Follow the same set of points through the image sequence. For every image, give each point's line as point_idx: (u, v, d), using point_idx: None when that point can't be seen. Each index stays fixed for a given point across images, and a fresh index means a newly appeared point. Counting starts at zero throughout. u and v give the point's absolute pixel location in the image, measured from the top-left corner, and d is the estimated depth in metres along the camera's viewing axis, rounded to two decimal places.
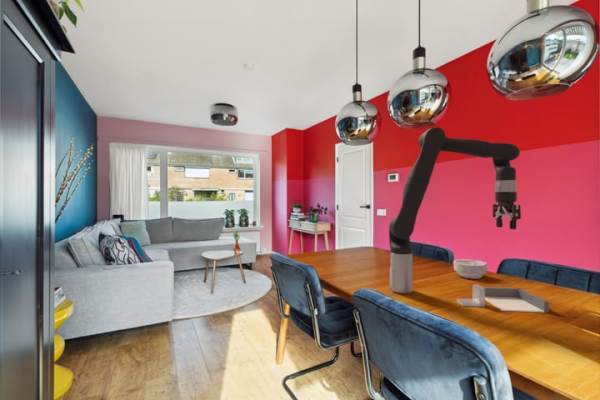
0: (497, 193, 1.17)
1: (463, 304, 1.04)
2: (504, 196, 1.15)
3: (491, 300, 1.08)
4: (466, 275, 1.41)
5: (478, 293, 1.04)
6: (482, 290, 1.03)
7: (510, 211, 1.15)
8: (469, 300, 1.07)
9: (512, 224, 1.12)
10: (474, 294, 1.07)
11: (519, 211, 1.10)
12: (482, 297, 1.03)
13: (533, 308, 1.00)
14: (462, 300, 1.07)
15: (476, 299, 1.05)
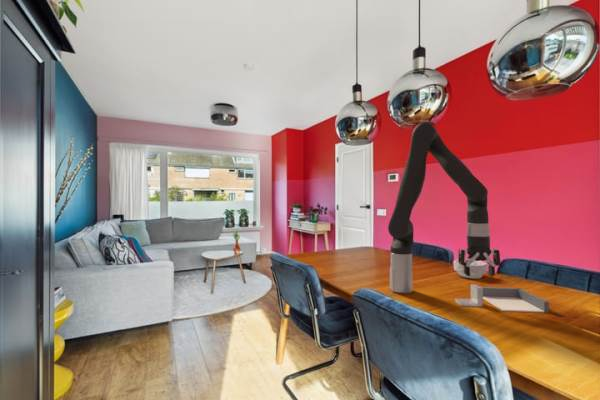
0: (484, 238, 1.02)
1: (461, 304, 1.04)
2: (489, 241, 1.03)
3: (491, 300, 1.08)
4: None
5: (476, 293, 1.04)
6: (480, 290, 1.03)
7: None
8: (468, 300, 1.07)
9: (493, 271, 1.04)
10: (472, 294, 1.07)
11: None
12: (480, 297, 1.03)
13: (533, 308, 1.00)
14: (460, 300, 1.07)
15: (474, 299, 1.05)
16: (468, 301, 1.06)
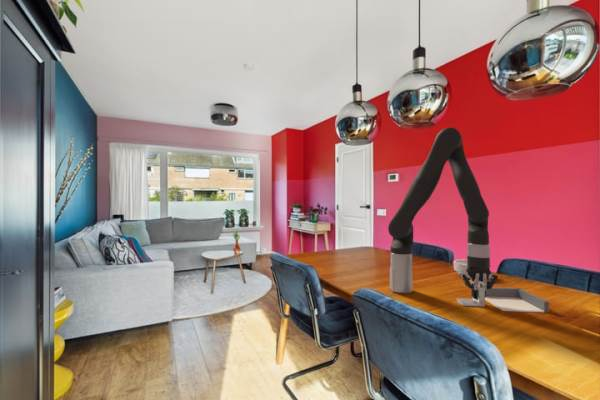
0: (484, 259, 1.02)
1: (463, 303, 1.04)
2: (489, 262, 1.03)
3: (491, 300, 1.08)
4: None
5: (478, 293, 1.04)
6: (482, 289, 1.03)
7: None
8: (469, 300, 1.07)
9: None
10: None
11: None
12: (481, 297, 1.03)
13: (533, 308, 1.00)
14: (462, 299, 1.07)
15: None
16: (470, 301, 1.06)
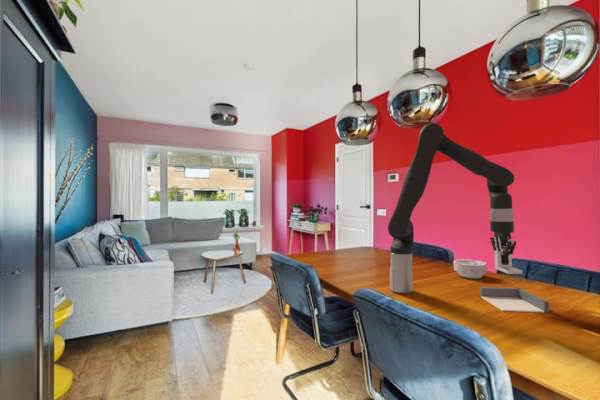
0: None
1: None
2: None
3: (491, 300, 1.08)
4: (466, 275, 1.41)
5: (510, 257, 1.05)
6: None
7: None
8: (505, 267, 1.03)
9: None
10: (501, 260, 1.05)
11: None
12: None
13: (533, 308, 1.00)
14: (511, 269, 1.01)
15: None
16: (509, 268, 1.03)
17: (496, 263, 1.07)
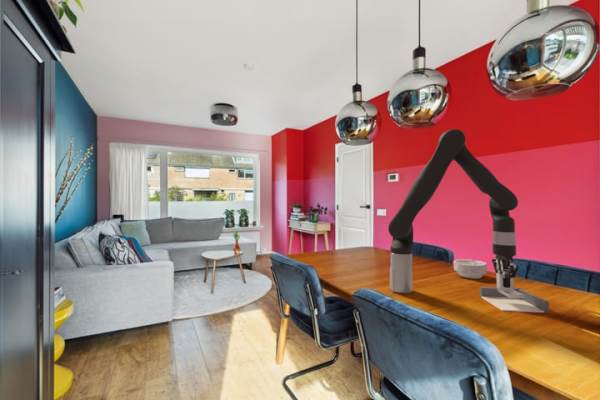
0: None
1: None
2: None
3: (491, 300, 1.08)
4: (466, 275, 1.41)
5: (511, 280, 1.06)
6: None
7: None
8: (507, 291, 1.04)
9: None
10: None
11: None
12: None
13: (533, 308, 1.00)
14: (513, 293, 1.01)
15: None
16: (511, 291, 1.04)
17: (498, 286, 1.07)
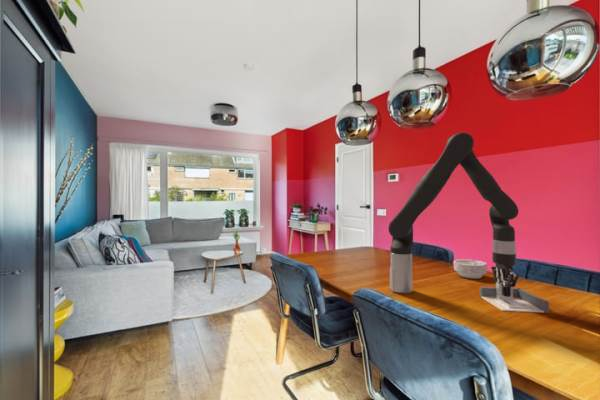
0: None
1: None
2: None
3: (491, 300, 1.08)
4: (466, 275, 1.41)
5: (511, 289, 1.06)
6: None
7: None
8: (507, 300, 1.05)
9: None
10: None
11: None
12: None
13: (533, 308, 1.00)
14: (512, 303, 1.02)
15: None
16: (510, 301, 1.04)
17: (497, 295, 1.08)
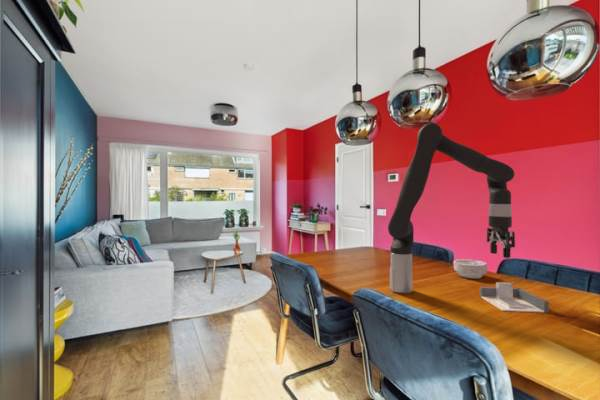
0: None
1: None
2: None
3: (491, 300, 1.08)
4: (466, 275, 1.41)
5: (511, 289, 1.06)
6: None
7: None
8: (507, 300, 1.05)
9: None
10: (503, 292, 1.06)
11: None
12: None
13: (533, 308, 1.00)
14: (512, 303, 1.02)
15: (507, 296, 1.06)
16: (510, 301, 1.04)
17: (497, 295, 1.08)
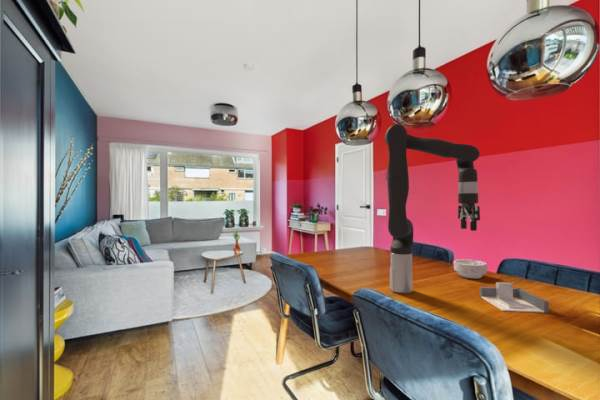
0: None
1: None
2: None
3: (491, 300, 1.08)
4: (466, 275, 1.41)
5: (511, 289, 1.06)
6: None
7: None
8: (507, 300, 1.05)
9: None
10: (503, 292, 1.06)
11: None
12: None
13: (533, 308, 1.00)
14: (512, 303, 1.02)
15: (507, 296, 1.06)
16: (510, 301, 1.04)
17: (497, 295, 1.08)
